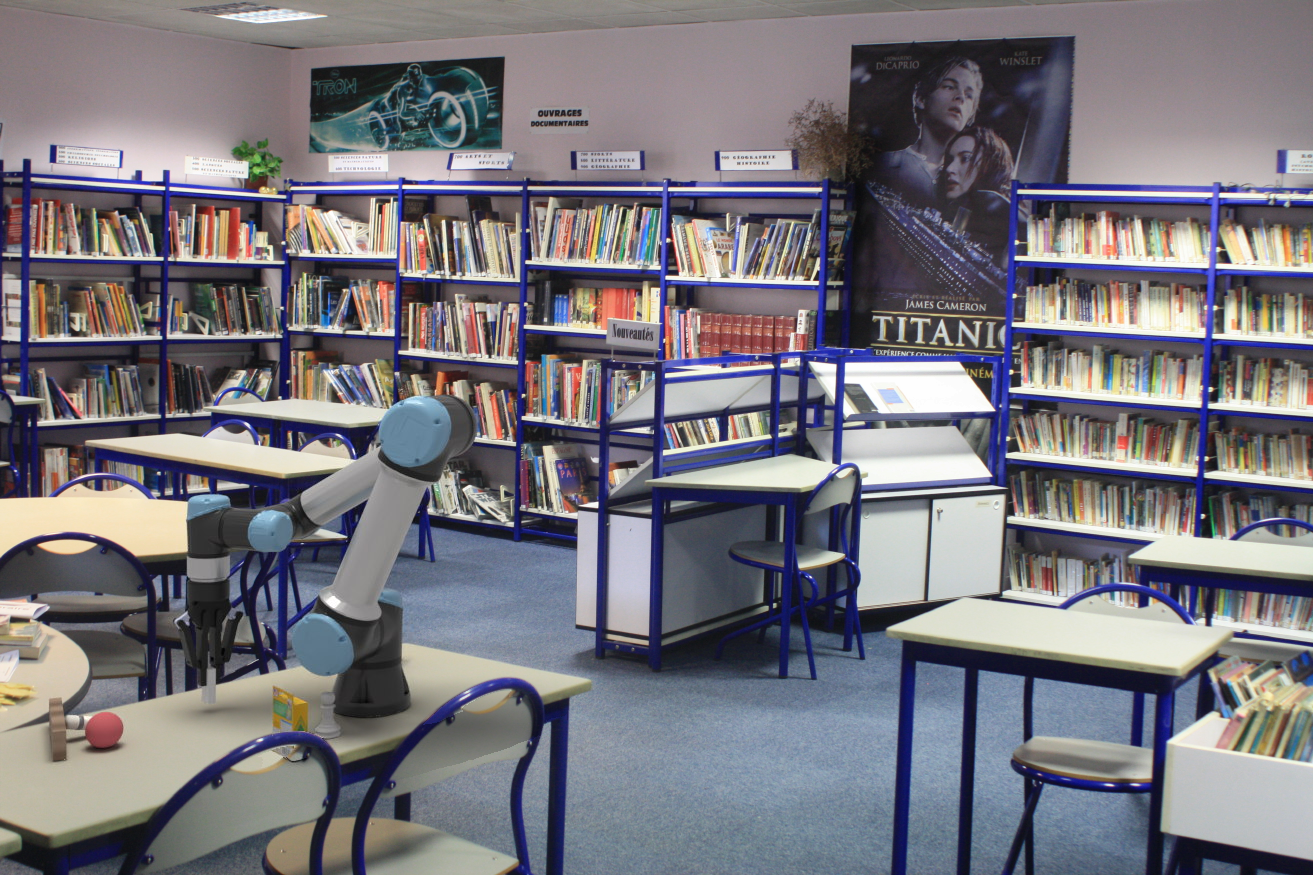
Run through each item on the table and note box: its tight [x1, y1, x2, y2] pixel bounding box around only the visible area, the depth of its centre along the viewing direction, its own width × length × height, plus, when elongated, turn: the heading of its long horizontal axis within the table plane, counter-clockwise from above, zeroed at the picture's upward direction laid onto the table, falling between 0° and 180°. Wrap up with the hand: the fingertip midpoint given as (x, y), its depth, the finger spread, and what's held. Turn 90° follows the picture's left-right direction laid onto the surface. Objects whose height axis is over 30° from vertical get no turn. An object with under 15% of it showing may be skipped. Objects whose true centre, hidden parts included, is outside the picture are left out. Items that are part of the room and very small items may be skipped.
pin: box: [64, 714, 94, 731], centre depth 214 cm, size 2×2×9 cm
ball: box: [84, 711, 124, 749], centre depth 209 cm, size 6×6×6 cm
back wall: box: [48, 697, 67, 762], centre depth 211 cm, size 20×2×5 cm, turn 28°
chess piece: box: [314, 691, 342, 740], centre depth 218 cm, size 5×5×8 cm
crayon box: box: [271, 685, 309, 759], centre depth 208 cm, size 7×3×12 cm, turn 44°
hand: (208, 701), depth 230 cm, fingers closed
